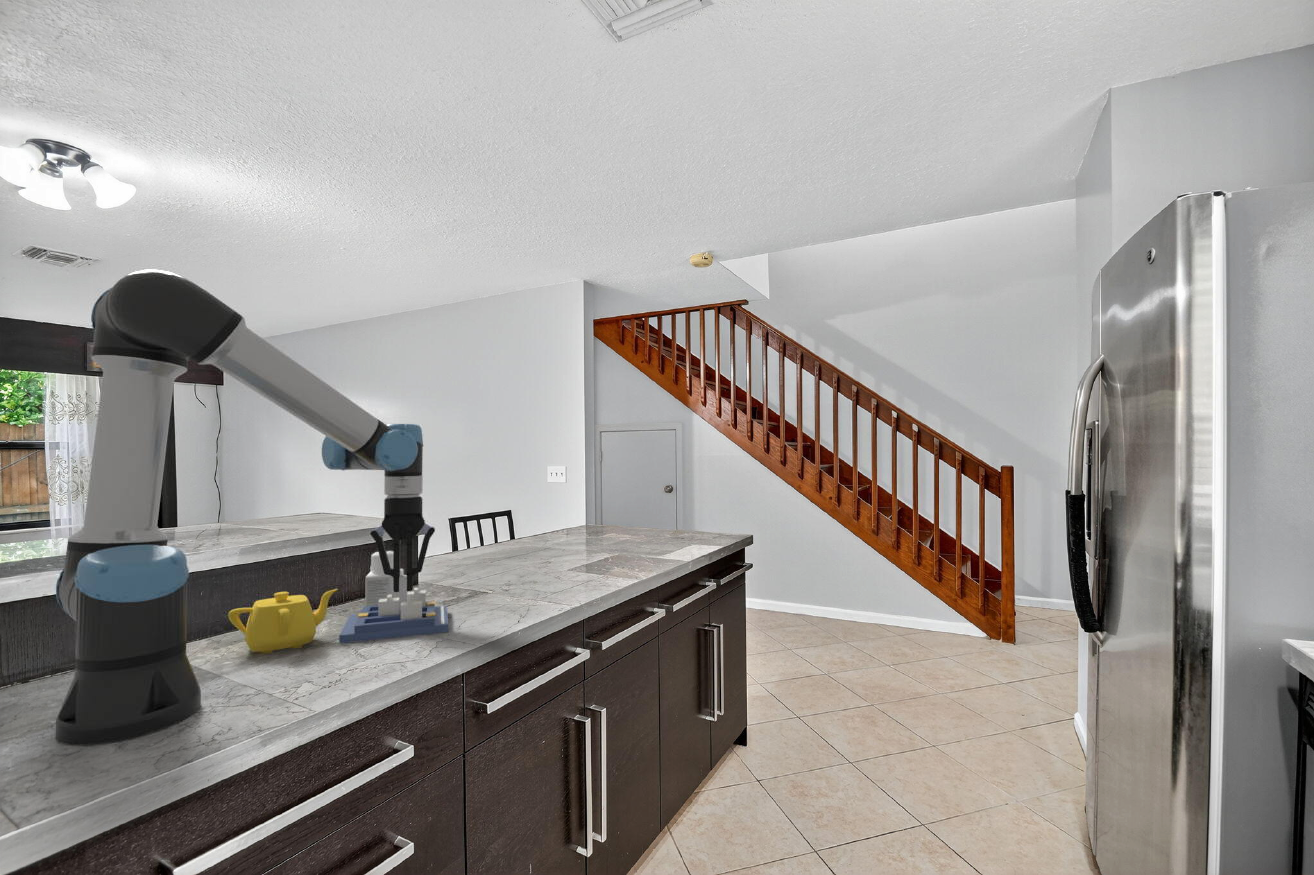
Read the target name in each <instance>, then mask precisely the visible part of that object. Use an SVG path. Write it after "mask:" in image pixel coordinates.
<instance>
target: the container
mask: <svg viewBox="0 0 1314 875" xmlns="http://www.w3.org/2000/svg"><path fill="white" fill-rule="evenodd" d="M386 552H387V556H388V560H389V564H390V567H391V568H392V569H393V549H386ZM369 564H370V565H369V566H370V568H369V570H370V572H369V573H368V574H367V575H366V576H365V581H364V582H365V584H364V585H365V586H364V587H365V588H364V589H365V599H364V600H365V601H364V602H365V603H364V604H365V606H377V605H378V602H379V599H387V595H389V594H392V598H398V597H399V592H394V590H393V577H392V576H390V575H385V574H384V571H383V567H382V563H381V560H380V556H379V552H378V550H375V551H374V552H372V553H371V554H370V561H369ZM404 573H405V570H404V568H400V575H405V574H404ZM365 606H364V607H365Z"/></svg>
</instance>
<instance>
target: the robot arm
mask: <svg viewBox="0 0 1314 875" xmlns="http://www.w3.org/2000/svg"><path fill="white" fill-rule="evenodd" d="M90 315H91V316H90V321H91V323H92V325H91V327H92V329H93V333H94V334H93V342H92V344H93V345H92V352H91V360H92V362H94V363H95V365H96V366H98V367H99V368H101V370H102V379H101V386H100V387H101V388H100V393H99V394H100V395H99V404H98V410H97V416H96V417H97V419H96V427H95V435H94V443H93V450H92V458H91V465H90V466H91V467H90V474H89V482H88V491H87V496H86V497H87V498H86V506H85V513H84V514H85V515H84V521H83V527H81V529H80V530H78V531H76V532H75V533H74V534H72V535H71V536H69V537H68V538H67V543H66V544H67V545H66V551H65V559H64V566H63V569H62V570H61V571H60V573H59V576H58V579H57V581H56V584H55V595H56V600H57V603H58V604H59V607H60V608H61V609H62V611H63V613H65V614H66V615H67V616H68V617H70V618H72V620H73V621H75V656H74V657H75V663H74V664H75V666H74V670H75V671H74V676H73V678H72V680H71V684H70V685H69V687H68V688H69V689H68V691H67V693H66V695H65V698H64V700H63V702H62V705H61V707H60V709H59V712H58V715H57V717H56V720H55V739H56V741H58V743H61V744H66V745H72V746H73V745H74V746H77V745H78V746H79V745H80V746H81V745H85V746H86V745H98V744H104V743H113V742H117V741H122V740H128V739H131V738H136V737H140V736H142V735H146V734H150V733H153V732H157V731H159V730H162V729H165V728H167V727H170V726H172V725H175V724H177V723H179V722H181V721H183V720H185V719H188V718H189V717H191V716H192V715H193V714H194V713H196V712H197V711H199V709H200V707H201V704H202V697H201V696H202V690H201V686H200V684H199V681H198V679H197V677H196V675H195V672H194V670H193V668H192V666H191V662H190V660H189V657H188V655H187V628H188V626H187V622H188V621H187V618H188V616H187V615H188V610H187V609H188V578H189V572H190V569H189V567H188V560H187V557H186V554H185V552H184V551H182V550H181V549H179V548H177V547H174V546H169V545H168V540H169V536H168V535H166V533H165V532H164V531H162V530H161V529H160V528H159V527H158V520H159V514H160V513H159V512H160V505H161V504H160V503H161V497H162V496H161V495H162V487H163V479H164V471H165V461H166V453H167V443H168V436H169V428H170V417H171V410H172V402H173V391H174V385H175V380H176V379H178V377H180V376H182V375H183V374H185V373H187V372H188V365H189V359H190V360H192V361H193V362H194V363H196V364H198V365H212V366H214V367H216V368H218V369H219V370H220V371H222V372H224V373H225V374H227V375H228V376H230V377H231V378H233V379H235V380H236V381H238V382H240V383H241V384H243V385H244V386H246V387H247V388H249V389H251V390H252V391H254V392H256V393H257V394H258V395H260V396H262V397H263V398H264V399H267V400H268V401H270V402H272V403H273V404H274V405H276V406H277V407H280V408H281V409H283V410H284V411H285V412H287V413H289V414H290V415H292V416H293V417H295V418H296V419H298V420H300V421H301V422H303V423H305V424H307V425H308V426H309V427H311V428H313V429H314V430H316V431H317V432H319V433H321V434H322V435H324V436H325V437H324V439H323V440H322V441H323V442H322V443H321V458H322V462H323V464H324V467H326V468H327V469H328V470H335V471H337V470H339V471H346V470H347V471H349V470H351V471H356V470H357V471H358V470H359V471H360V470H361V471H362V470H364V471H368V470H369V471H373V470H374V471H384V482H383V485H384V492H383V493H384V495H385V496H386V497H385V498H384V500H383V503H384V508H383V513H384V514H383V516H384V517H383V520H382V522H381V525H379V526H378V527H376V528H374V529H372V530H371V531H370V533H369V534H370V536H371V537H372V539H373V540H374V541H375V544H376V547H377V551H378V552H379V556H380V560H381V563H382V567H383V571H384V574H385V575H390V576H392V577H393V590H394V592H399V609H401V603H402V602H407V592H411V591H413V590H414V575H416V574H419V573H421V572H422V570H423V566H424V563H425V559H426V555H427V551H428V547H429V543H430V541H431V540H430V539H431V537H432V536H433V535H434V534H435V532H436V528H435V526H431V525H429V524H427V523H426V521H425V519H424V517H423V497H422V496H420V495H422V494H423V456H424V455H423V452H424V450H423V447H424V440H423V430H422V429H423V428H422V427H421V426H420V425H418V424H415V423H387V424H386V423H384V422H383V421H381V420H379V419H378V418H377V417H375V416H374V415H372V414H371V413H369V412H368V411H367V410H365V409H363V408H362V407H361V406H359V405H358V404H357V403H356V402H353V401H352V400H351V399H349V398H348V397H347V396H345V395H343V394H342V393H341V392H340V391H338V390H337V389H335V388H334V387H332V386H331V385H330V384H328V383H327V382H325V381H324V380H322V379H321V378H320V377H318V376H317V375H314V373H312V372H311V371H309V370H308V369H307V368H305V367H304V366H303V365H301V364H299V363H298V362H297V361H295V360H294V359H293V358H291V357H289V356H288V355H287V354H285V353H284V352H283V351H281V350H280V349H278V348H277V347H275V346H274V345H272V344H271V343H269V342H268V341H267V340H265V338H264V339H263V337H261V336H259V335H258V334H257V333H256V332H254V331H253V330H252V329H249V328H248V327H247V324H246V320H245V317H244V316H243V315H241V314H239V312H237V311H236V310H234V309H233V308H231V307H230V306H229V305H227V304H226V303H225V302H223V301H222V300H220V299H219V298H218V297H215V296H214V295H213V294H212V293H210V292H209V291H207V290H206V289H204V288H202V287H201V286H199V285H197V284H196V283H194V282H193V281H191V280H189V279H187V278H186V277H184V276H180V275H178V274H175V273H173V272H170V271H164V270H158V269H144V270H138V271H135V272H131V273H129V274H127V275H125V276H123V277H122V278H120V279H119V280H117V282H116V283H115V284H114V285H113V286H112V287H111V288H109V289H107V290H105V291H104V292H103V293H102V294H101V295H100V296H99V297H98V298H97V299H96V301H95V303H94V304H93V307H92V310H91V314H90ZM422 529H423V531H422V533H423V540H422V543H421V547H420V552H419V554H418V559H417V563H416V566H414V539H415V538H416V537H417V535H418V534H419V532H420V531H421V530H422ZM384 531H385V532H386V533H387V535H388V536H389V537H390V539H392V540H393V546H392V547H393V549H392V550H393V569H392V568H391V567H390V564H389V560H388V556H387V552H386V550H387V549H386V546H385V541H384V535H385V533H384ZM402 540H405V541H406V574H404V575H400V569H401V541H402Z"/></svg>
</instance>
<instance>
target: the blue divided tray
mask: <svg viewBox="0 0 1314 875" xmlns="http://www.w3.org/2000/svg"><path fill="white" fill-rule="evenodd" d="M435 605H436V601H435V600H426V606H422V618H417V619H407V620H401V609H400V614H396V615H385V616H378V605H377V606H363V607H362V608H361V611H360V612H359V613H353V614H349V615H348V618H347V620H346V622H345V624H344V626H343V628H342V630H341V631H340V632H339V638H338V644H345V643H346V644H347V643H355V642H363V641H371V640H382V639H389V638H390V639H392V638H400V637H401V638H402V637H410V636H419V635H429V634H437V633H447V632H449V619H448V617H449V616H448V606H447V605H442V606H441V605H440V606H435Z"/></svg>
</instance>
